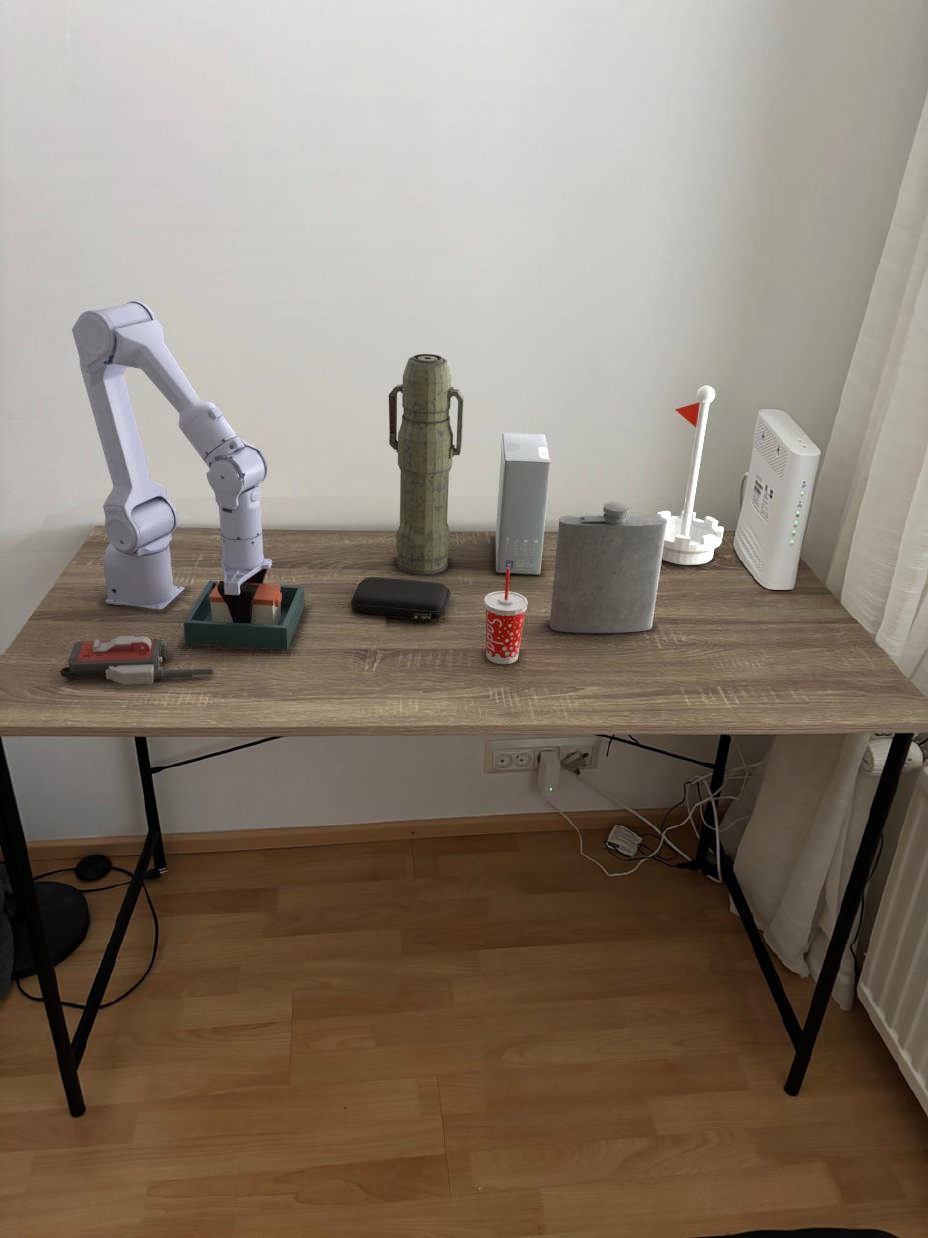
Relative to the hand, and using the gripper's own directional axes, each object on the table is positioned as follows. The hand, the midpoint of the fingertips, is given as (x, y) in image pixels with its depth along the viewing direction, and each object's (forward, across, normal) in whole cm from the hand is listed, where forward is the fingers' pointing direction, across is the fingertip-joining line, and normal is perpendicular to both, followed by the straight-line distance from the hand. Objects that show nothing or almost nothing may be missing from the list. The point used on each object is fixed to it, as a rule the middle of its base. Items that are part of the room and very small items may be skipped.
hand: (246, 617), depth 151 cm
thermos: (+2, +26, -24) cm, 35 cm away
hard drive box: (+2, +31, -40) cm, 51 cm away
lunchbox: (+1, 0, 0) cm, 1 cm away
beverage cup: (+2, -4, -38) cm, 38 cm away
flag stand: (+2, +37, -70) cm, 79 cm away
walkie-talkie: (+2, -14, +11) cm, 18 cm away
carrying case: (+2, +9, -22) cm, 24 cm away
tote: (+2, 0, 0) cm, 2 cm away
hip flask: (+2, +6, -53) cm, 53 cm away
